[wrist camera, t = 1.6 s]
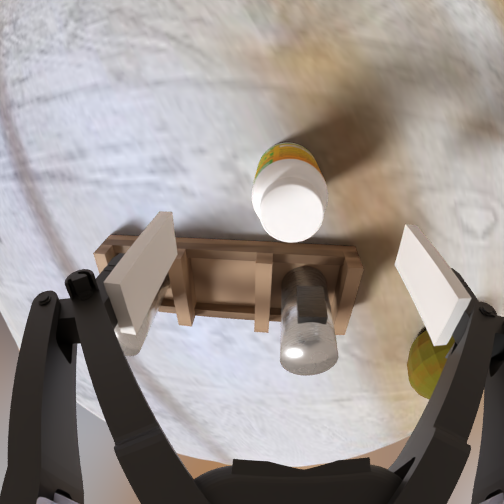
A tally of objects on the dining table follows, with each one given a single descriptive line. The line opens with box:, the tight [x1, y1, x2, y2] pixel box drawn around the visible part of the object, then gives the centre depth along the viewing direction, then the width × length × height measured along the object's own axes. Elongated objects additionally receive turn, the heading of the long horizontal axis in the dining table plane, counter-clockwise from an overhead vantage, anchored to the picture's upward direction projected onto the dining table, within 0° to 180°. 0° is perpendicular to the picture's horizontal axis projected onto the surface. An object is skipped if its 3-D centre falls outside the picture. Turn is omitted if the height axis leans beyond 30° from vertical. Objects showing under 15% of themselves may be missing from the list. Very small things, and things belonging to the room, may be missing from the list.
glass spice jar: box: [114, 273, 170, 356], centre depth 28 cm, size 5×5×10 cm
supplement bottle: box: [252, 143, 328, 243], centre depth 22 cm, size 5×5×10 cm
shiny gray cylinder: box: [280, 266, 338, 375], centre depth 27 cm, size 5×5×10 cm
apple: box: [407, 330, 455, 399], centre depth 31 cm, size 10×10×11 cm
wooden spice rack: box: [93, 235, 364, 335], centre depth 31 cm, size 9×27×4 cm, turn 90°
